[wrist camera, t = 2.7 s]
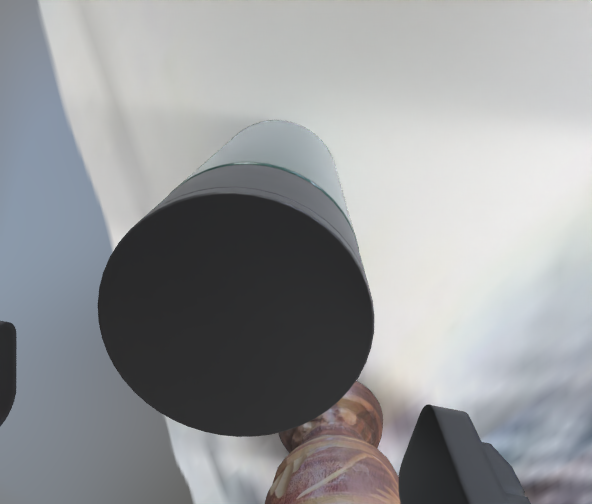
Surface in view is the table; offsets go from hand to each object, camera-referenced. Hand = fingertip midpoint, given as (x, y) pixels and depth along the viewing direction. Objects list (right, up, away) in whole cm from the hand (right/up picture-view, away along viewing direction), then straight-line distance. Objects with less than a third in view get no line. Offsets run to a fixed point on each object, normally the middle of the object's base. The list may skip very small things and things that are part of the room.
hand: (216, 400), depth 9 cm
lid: (0, +2, +6) cm, 6 cm away
